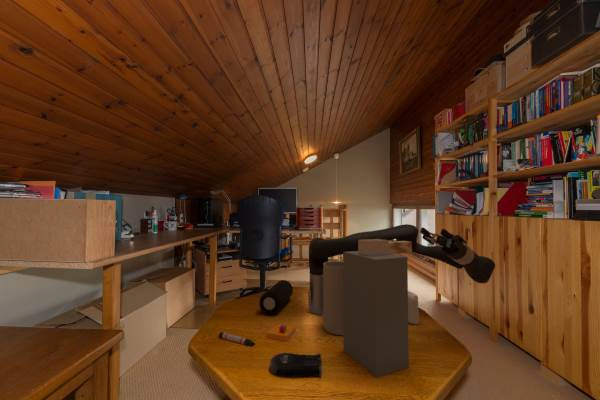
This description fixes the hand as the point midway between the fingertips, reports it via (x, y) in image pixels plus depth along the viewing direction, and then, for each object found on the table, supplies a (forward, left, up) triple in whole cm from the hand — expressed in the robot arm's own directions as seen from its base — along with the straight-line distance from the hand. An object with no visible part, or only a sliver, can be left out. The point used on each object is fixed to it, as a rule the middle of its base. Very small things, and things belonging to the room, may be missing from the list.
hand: (431, 230), depth 95 cm
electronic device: (-42, -29, -40) cm, 65 cm away
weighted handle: (-16, -14, -7) cm, 22 cm away
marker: (-66, -19, -40) cm, 79 cm away
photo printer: (-7, +17, -39) cm, 43 cm away
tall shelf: (-20, -17, -39) cm, 47 cm away
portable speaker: (-65, +18, -39) cm, 78 cm away
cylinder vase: (-33, +1, -39) cm, 51 cm away
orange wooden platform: (-53, -10, -40) cm, 67 cm away
